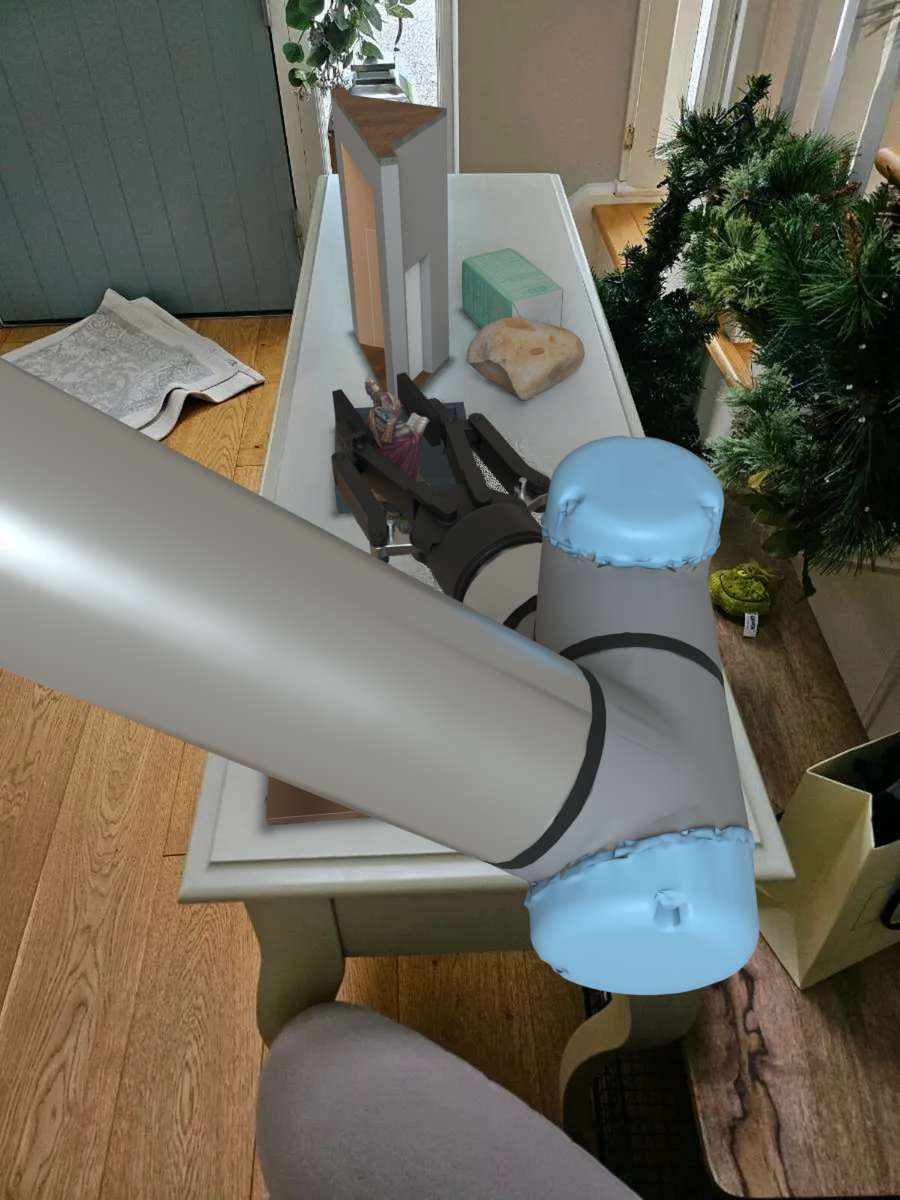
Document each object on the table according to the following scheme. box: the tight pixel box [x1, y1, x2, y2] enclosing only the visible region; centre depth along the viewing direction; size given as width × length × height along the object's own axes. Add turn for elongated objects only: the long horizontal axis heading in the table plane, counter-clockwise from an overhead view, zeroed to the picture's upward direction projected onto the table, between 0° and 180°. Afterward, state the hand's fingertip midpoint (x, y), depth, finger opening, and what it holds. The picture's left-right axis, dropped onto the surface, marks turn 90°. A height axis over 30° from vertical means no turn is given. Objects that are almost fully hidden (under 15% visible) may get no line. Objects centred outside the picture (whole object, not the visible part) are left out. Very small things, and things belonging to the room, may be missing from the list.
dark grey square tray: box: [334, 401, 474, 515], centre depth 89 cm, size 14×14×3 cm
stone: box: [466, 317, 586, 401], centre depth 100 cm, size 14×11×8 cm
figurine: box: [364, 378, 436, 534], centre depth 65 cm, size 6×6×12 cm
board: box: [265, 776, 371, 827], centre depth 64 cm, size 22×7×1 cm, turn 95°
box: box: [461, 247, 564, 330], centre depth 108 cm, size 7×14×8 cm, turn 26°
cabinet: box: [329, 86, 450, 397], centre depth 94 cm, size 21×10×28 cm, turn 18°
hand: (370, 396), depth 68 cm, fingers closed on figurine, 5 cm apart
